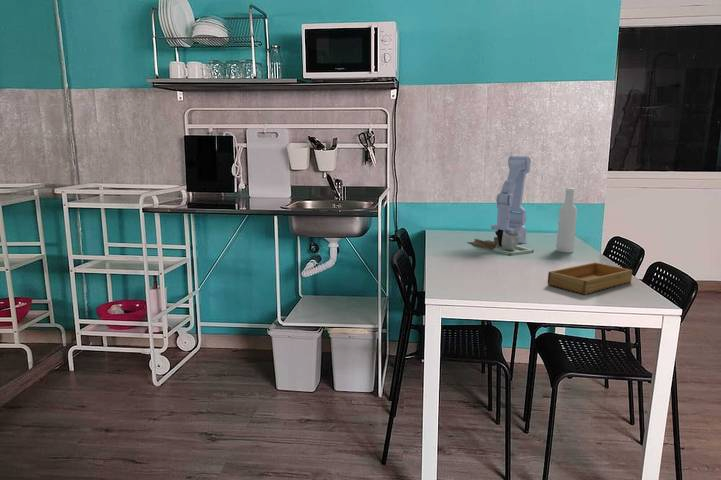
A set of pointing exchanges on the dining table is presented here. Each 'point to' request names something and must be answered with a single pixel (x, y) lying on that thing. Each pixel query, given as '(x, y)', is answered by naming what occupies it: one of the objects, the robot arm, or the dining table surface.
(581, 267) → the tray
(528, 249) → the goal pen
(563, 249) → the bottle
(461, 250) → the dining table surface
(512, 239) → the cup
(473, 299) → the dining table surface
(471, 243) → the pad
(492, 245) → the channel
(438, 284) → the dining table surface
